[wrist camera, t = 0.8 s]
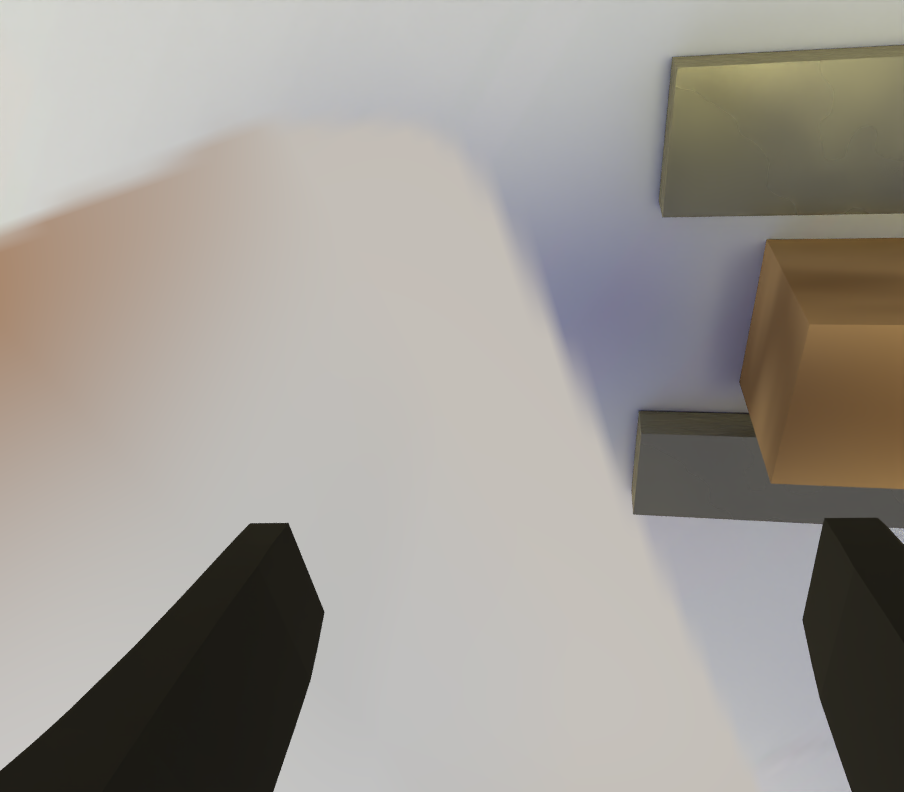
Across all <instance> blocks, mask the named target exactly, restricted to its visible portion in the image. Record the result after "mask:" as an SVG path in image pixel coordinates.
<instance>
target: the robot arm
mask: <svg viewBox="0 0 904 792" xmlns="http://www.w3.org/2000/svg"><path fill="white" fill-rule="evenodd" d="M323 617H324V610H323V607H322V605H321V602H320V600H319V598H318V595H317V593H316V590H315V588H314V585H313V583H312V580H311V578H310V575H309V573H308V570H307V568H306V565H305V563H304V561H303V558H302V556H301V553H300V551H299V548H298V546H297V543H296V541H295V538H294V536H293V534H292V531H291V528H290V526H289V523H258V524H257V523H251V524H249V525H248V526H247V527H246V528H245V529H244V530H243V531H242V532H241V533H240V534H239V535H238V536H237V537H236V538H235V540H234V541H233V542H232V543H231V544H230V545H229V546H228V547H227V548H226V549H225V551H223V552H222V553H221V555H220V556H219V557H218V558H217V559H216V560H215V561H214V562H213V563H212V565H210V567H209V568H208V569H207V570H206V571H205V572H204V573H203V574H202V575H201V576H200V577H199V578H198V580H197V581H196V582H195V583H194V584H193V585H192V586H191V587H190V588H189V589H188V590H187V591H186V593H185V594H184V595H183V596H182V597H181V598H180V599H179V600H178V601H177V602H176V603H175V604H174V605H173V606H172V607H171V608H170V609H169V610H168V612H167V613H166V614H165V615H164V616H163V617H162V618H161V619H160V620H159V621H158V622H157V623H156V624H155V625H154V626H153V627H152V628H151V630H150V631H149V632H148V633H147V634H146V635H145V636H144V637H143V638H142V639H141V640H140V641H139V642H138V643H137V644H136V645H135V646H134V647H133V648H132V649H131V650H130V651H129V652H128V653H127V654H126V655H125V656H124V657H123V658H122V659H121V660H120V661H119V662H118V663H117V664H116V665H115V666H114V667H113V668H112V669H111V670H110V671H109V672H108V673H107V674H106V675H105V676H104V677H102V679H101V680H99V681H98V682H97V683H96V684H95V685H94V686H93V687H92V688H91V689H90V690H89V691H88V692H87V693H86V694H85V695H84V696H83V697H82V698H81V699H80V700H79V701H78V702H77V703H76V704H75V705H74V706H73V707H72V708H71V709H70V710H69V711H68V712H66V713H65V714H64V715H63V716H62V717H61V718H60V719H59V720H58V721H57V722H56V723H55V724H53V725H52V726H51V727H50V728H49V729H48V730H47V731H46V732H45V733H43V734H42V735H41V736H40V737H39V738H38V739H37V740H36V741H35V742H33V743H32V744H31V745H30V746H29V747H28V748H26V749H25V750H24V751H23V752H22V753H21V754H19V755H18V756H17V757H16V758H15V759H14V760H13V761H11V762H10V763H9V764H8V765H7V766H6V767H4V768H3V769H2V770H1V771H0V792H273V791H274V788H275V785H276V782H277V778H278V776H279V773H280V770H281V767H282V764H283V761H284V758H285V755H286V752H287V749H288V747H289V744H290V740H291V738H292V735H293V732H294V729H295V726H296V723H297V720H298V717H299V714H300V710H301V708H302V705H303V702H304V699H305V695H306V692H307V689H308V686H309V683H310V680H311V675H312V670H313V666H314V662H315V656H316V653H317V648H318V643H319V637H320V632H321V627H322V622H323ZM803 625H804V630H805V634H806V639H807V644H808V648H809V653H810V658H811V663H812V667H813V671H814V675H815V680H816V684H817V688H818V693H819V697H820V700H821V703H822V706H823V709H824V712H825V715H826V718H827V721H828V724H829V727H830V730H831V733H832V736H833V739H834V742H835V745H836V748H837V750H838V753H839V756H840V759H841V762H842V765H843V768H844V771H845V774H846V776H847V779H848V782H849V785H850V788H851V791H852V792H904V544H903V543H902V542H901V541H900V540H899V539H898V538H897V537H896V536H895V534H894V533H893V532H892V531H891V530H890V529H889V528H888V527H887V526H886V525H885V524H884V523H883V522H882V521H881V520H880V519H879V518H824V522H823V526H822V531H821V536H820V540H819V545H818V550H817V554H816V559H815V564H814V569H813V573H812V578H811V583H810V587H809V592H808V597H807V601H806V606H805V611H804V615H803Z"/></svg>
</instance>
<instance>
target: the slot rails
mask: <svg viewBox="0 0 904 792" xmlns="http://www.w3.org/2000/svg"><path fill="white" fill-rule="evenodd" d="M659 204H660V208H661V212H662V217H712V216H772V215H832V214H891V213H904V45H894V46H875V47H856V48H837V49H818V50H799V51H781V52H762V53H743V54H724V55H705V56H686V57H672V65H671V76H670V87H669V97H668V108H667V118H666V129H665V140H664V150H663V161H662V172H661V182H660V193H659ZM631 491H632V504H633V514H636V515H656V516H675V517H695V518H715V519H734V520H754V521H773V522H793V523H813V524H823V522H824V518H879V519H880V520H881V521H882V522H883V523H884V524H885V525H886V526H887V527H891V528H904V489H888V488H864V487H840V486H817V485H793V484H771V483H770V479H769V476H768V473H767V470H766V466H765V463H764V460H763V457H762V453H761V450H760V447H759V444H758V441H757V437H756V434H755V431H754V428H753V424H752V421H751V418H750V415H749V414H731V413H694V412H657V411H639V416H638V427H637V437H636V448H635V458H634V469H633V480H632V490H631Z"/></svg>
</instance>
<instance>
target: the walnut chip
mask: <svg viewBox="0 0 904 792" xmlns="http://www.w3.org/2000/svg"><path fill="white" fill-rule="evenodd" d="M740 386H741V389H742V392H743V395H744V398H745V402H746V405H747V408H748V411H749V415H750V418H751V421H752V424H753V428H754V431H755V434H756V437H757V441H758V444H759V447H760V450H761V453H762V457H763V460H764V463H765V466H766V470H767V473H768V476H769V479H770V483H771V484H793V485H817V486H840V487H864V488H888V489H904V238H856V239H769V240H767V241H766V246H765V251H764V256H763V262H762V267H761V272H760V277H759V282H758V288H757V293H756V298H755V303H754V309H753V314H752V319H751V324H750V330H749V335H748V340H747V345H746V351H745V356H744V361H743V366H742V372H741V377H740Z"/></svg>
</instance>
